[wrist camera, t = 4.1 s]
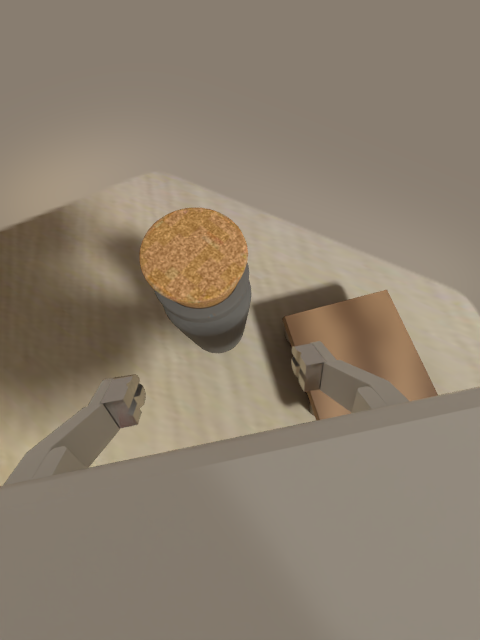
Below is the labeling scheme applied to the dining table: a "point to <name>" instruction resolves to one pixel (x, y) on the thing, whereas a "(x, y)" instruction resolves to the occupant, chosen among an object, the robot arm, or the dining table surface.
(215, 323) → the bottle
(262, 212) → the dining table surface
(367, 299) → the small wooden stand
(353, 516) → the robot arm
